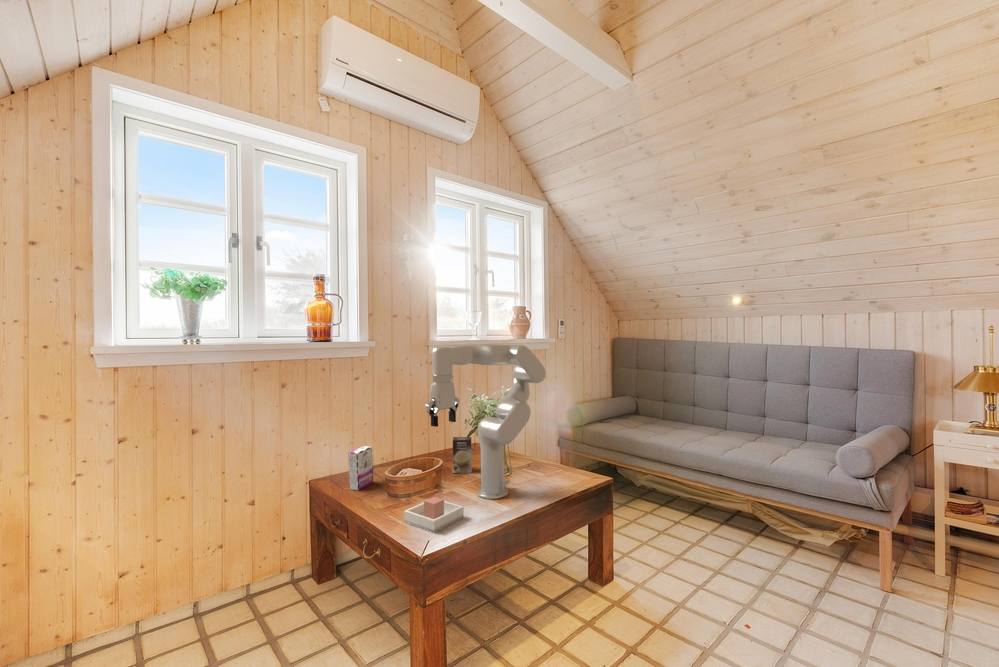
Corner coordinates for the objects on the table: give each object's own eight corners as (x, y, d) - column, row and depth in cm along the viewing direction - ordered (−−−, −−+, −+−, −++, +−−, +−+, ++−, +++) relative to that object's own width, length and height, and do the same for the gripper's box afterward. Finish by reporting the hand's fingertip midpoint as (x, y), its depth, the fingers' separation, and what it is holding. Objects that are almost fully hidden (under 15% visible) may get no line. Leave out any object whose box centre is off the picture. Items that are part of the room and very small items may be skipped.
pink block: (434, 513, 164) (433, 496, 164) (444, 516, 161) (443, 499, 161) (424, 517, 160) (424, 501, 160) (434, 521, 157) (434, 504, 157)
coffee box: (452, 474, 212) (451, 440, 212) (453, 469, 218) (452, 437, 218) (471, 473, 212) (471, 439, 212) (472, 469, 219) (471, 436, 218)
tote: (434, 508, 171) (433, 497, 171) (463, 517, 162) (463, 506, 162) (404, 522, 159) (403, 511, 159) (434, 533, 150) (433, 521, 150)
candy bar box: (364, 481, 204) (363, 445, 204) (373, 482, 202) (372, 446, 202) (348, 490, 193) (347, 452, 193) (358, 491, 191) (357, 452, 191)
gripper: (451, 376, 180) (451, 419, 180) (419, 381, 166) (420, 427, 166) (465, 377, 176) (466, 421, 176) (433, 382, 162) (434, 429, 162)
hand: (443, 423), depth 171 cm, fingers open, 9 cm apart
